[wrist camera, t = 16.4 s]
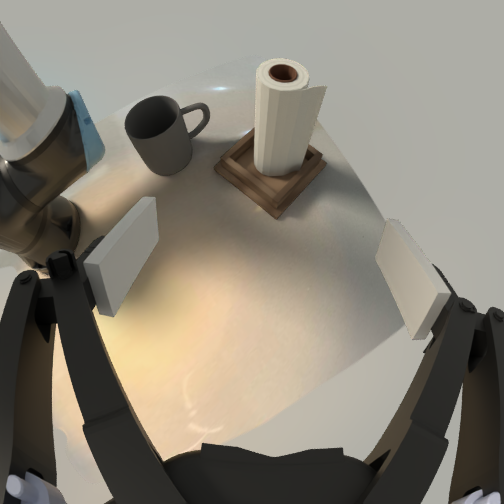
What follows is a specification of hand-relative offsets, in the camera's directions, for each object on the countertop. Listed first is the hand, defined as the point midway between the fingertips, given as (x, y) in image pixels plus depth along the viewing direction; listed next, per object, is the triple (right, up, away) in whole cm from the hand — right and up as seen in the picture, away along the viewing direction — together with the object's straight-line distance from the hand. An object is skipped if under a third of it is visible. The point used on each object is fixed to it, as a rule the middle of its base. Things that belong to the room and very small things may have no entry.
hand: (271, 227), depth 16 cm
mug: (-14, +17, +35) cm, 41 cm away
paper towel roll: (+3, +14, +33) cm, 36 cm away
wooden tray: (+2, +14, +34) cm, 36 cm away
